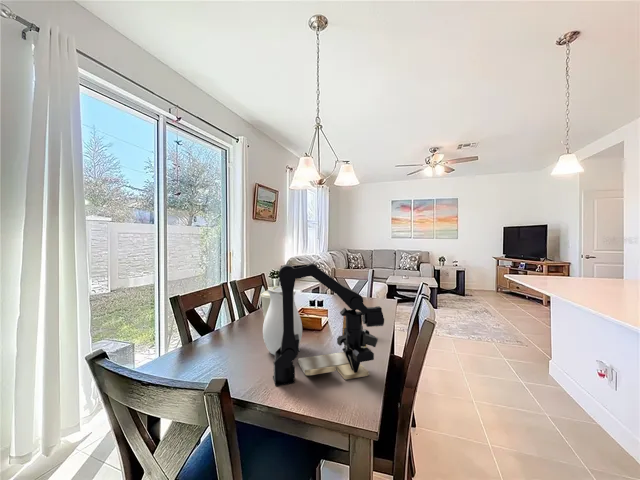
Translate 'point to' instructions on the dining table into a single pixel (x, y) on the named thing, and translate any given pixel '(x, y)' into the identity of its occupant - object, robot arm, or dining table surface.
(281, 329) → the pitcher
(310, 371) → the plank inner
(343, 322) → the ammunition clip
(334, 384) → the dining table surface
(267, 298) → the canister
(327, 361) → the board
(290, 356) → the robot arm
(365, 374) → the plank outer
